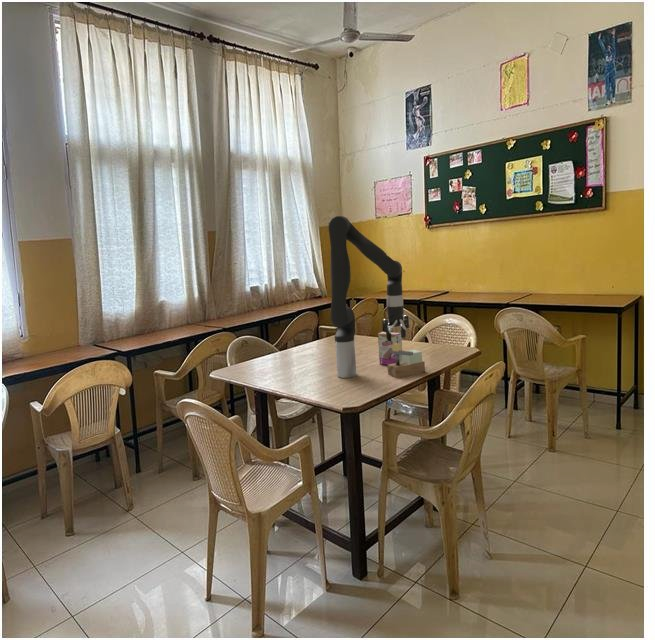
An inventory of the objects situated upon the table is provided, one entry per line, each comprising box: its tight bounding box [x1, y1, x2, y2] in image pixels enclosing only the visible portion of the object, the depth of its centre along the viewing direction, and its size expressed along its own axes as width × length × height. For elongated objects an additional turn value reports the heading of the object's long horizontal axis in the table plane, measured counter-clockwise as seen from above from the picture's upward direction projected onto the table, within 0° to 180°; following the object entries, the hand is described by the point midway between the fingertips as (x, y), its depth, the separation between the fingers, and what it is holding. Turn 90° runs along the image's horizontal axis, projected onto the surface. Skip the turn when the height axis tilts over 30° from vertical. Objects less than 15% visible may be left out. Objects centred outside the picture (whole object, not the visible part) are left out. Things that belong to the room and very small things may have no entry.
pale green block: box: [402, 349, 423, 364], centre depth 239 cm, size 6×7×5 cm
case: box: [387, 360, 426, 379], centre depth 239 cm, size 7×16×5 cm, turn 114°
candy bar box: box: [377, 331, 403, 366], centre depth 256 cm, size 11×5×16 cm, turn 56°
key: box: [390, 343, 413, 365], centre depth 234 cm, size 2×11×10 cm, turn 48°
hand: (396, 339), depth 235 cm, fingers open, 8 cm apart
